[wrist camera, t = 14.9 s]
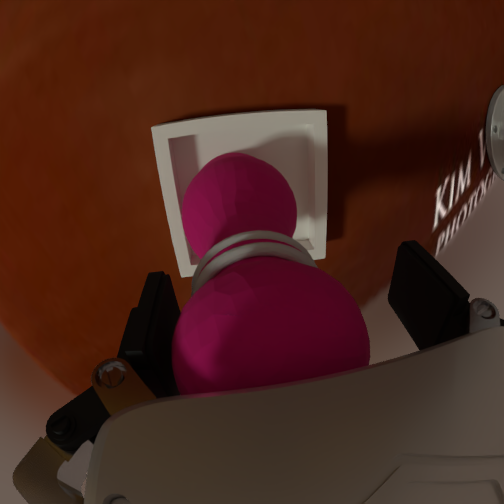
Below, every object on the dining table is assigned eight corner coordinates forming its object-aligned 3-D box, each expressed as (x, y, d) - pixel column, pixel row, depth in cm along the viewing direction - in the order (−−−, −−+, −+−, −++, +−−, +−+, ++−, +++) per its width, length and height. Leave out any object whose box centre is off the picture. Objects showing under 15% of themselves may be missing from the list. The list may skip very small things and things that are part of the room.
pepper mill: (180, 226, 23) (145, 504, 6) (197, 137, 20) (108, 396, 3) (267, 240, 25) (352, 492, 7) (291, 157, 21) (499, 372, 4)
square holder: (315, 108, 20) (326, 110, 18) (316, 244, 26) (325, 258, 24) (158, 124, 20) (151, 127, 17) (183, 261, 26) (181, 277, 23)
